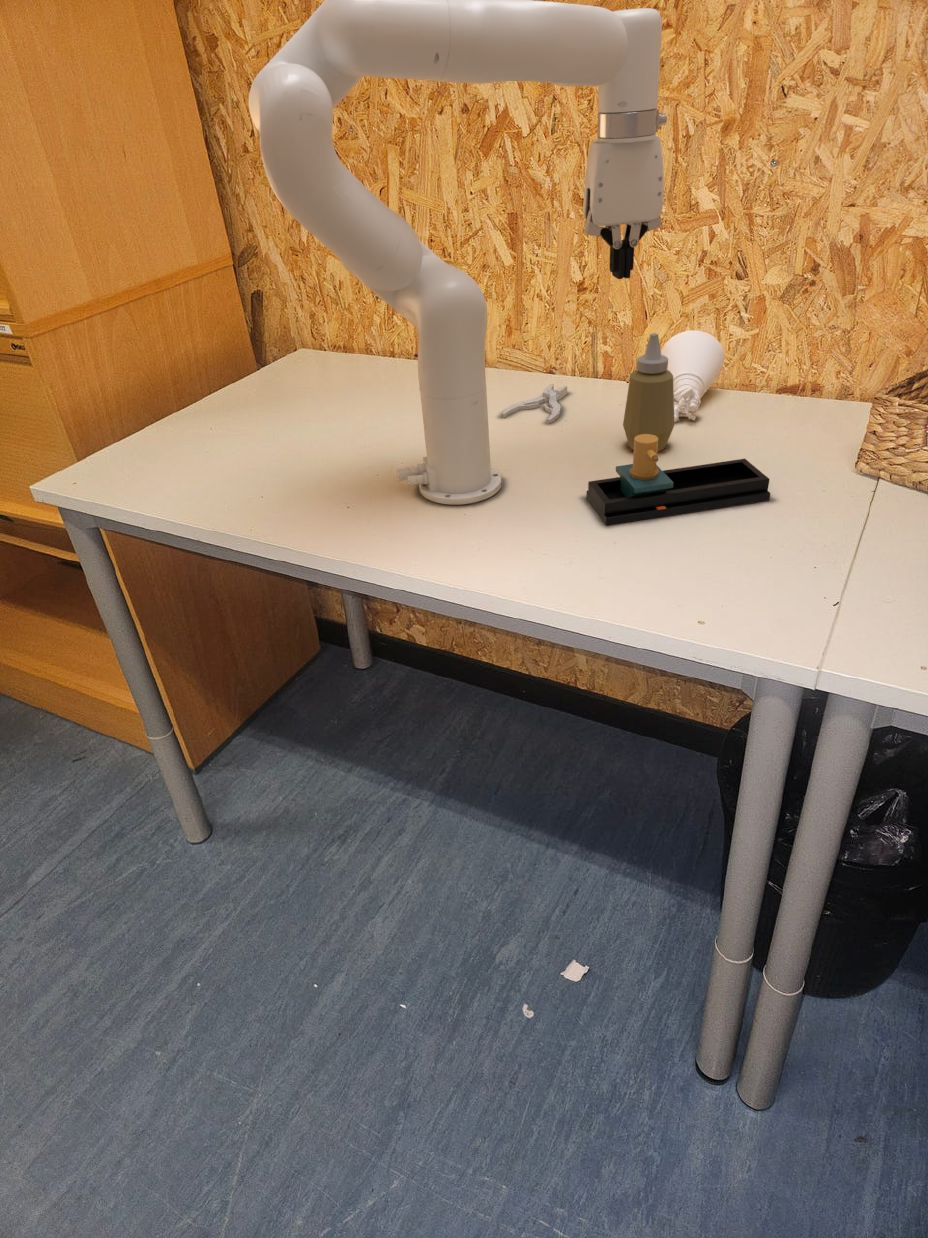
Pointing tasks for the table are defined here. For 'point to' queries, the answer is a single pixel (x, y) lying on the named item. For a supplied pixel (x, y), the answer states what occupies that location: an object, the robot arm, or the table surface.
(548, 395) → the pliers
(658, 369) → the squeeze bottle
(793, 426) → the table surface
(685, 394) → the rocket engine
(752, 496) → the black rectangular tray
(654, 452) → the nozzle
